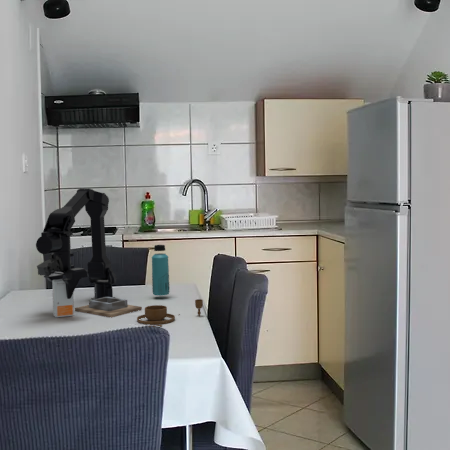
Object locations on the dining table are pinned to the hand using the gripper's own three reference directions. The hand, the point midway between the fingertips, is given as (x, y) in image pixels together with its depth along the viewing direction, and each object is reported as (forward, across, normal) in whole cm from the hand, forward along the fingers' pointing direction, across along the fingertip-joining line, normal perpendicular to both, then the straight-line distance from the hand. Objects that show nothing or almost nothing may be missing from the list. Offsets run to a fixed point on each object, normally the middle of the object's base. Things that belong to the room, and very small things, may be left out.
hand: (63, 297), depth 200 cm
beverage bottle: (+6, +6, +40) cm, 41 cm away
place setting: (+7, +33, +14) cm, 37 cm away
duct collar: (+6, +6, +14) cm, 16 cm away
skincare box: (+6, 0, 0) cm, 6 cm away
